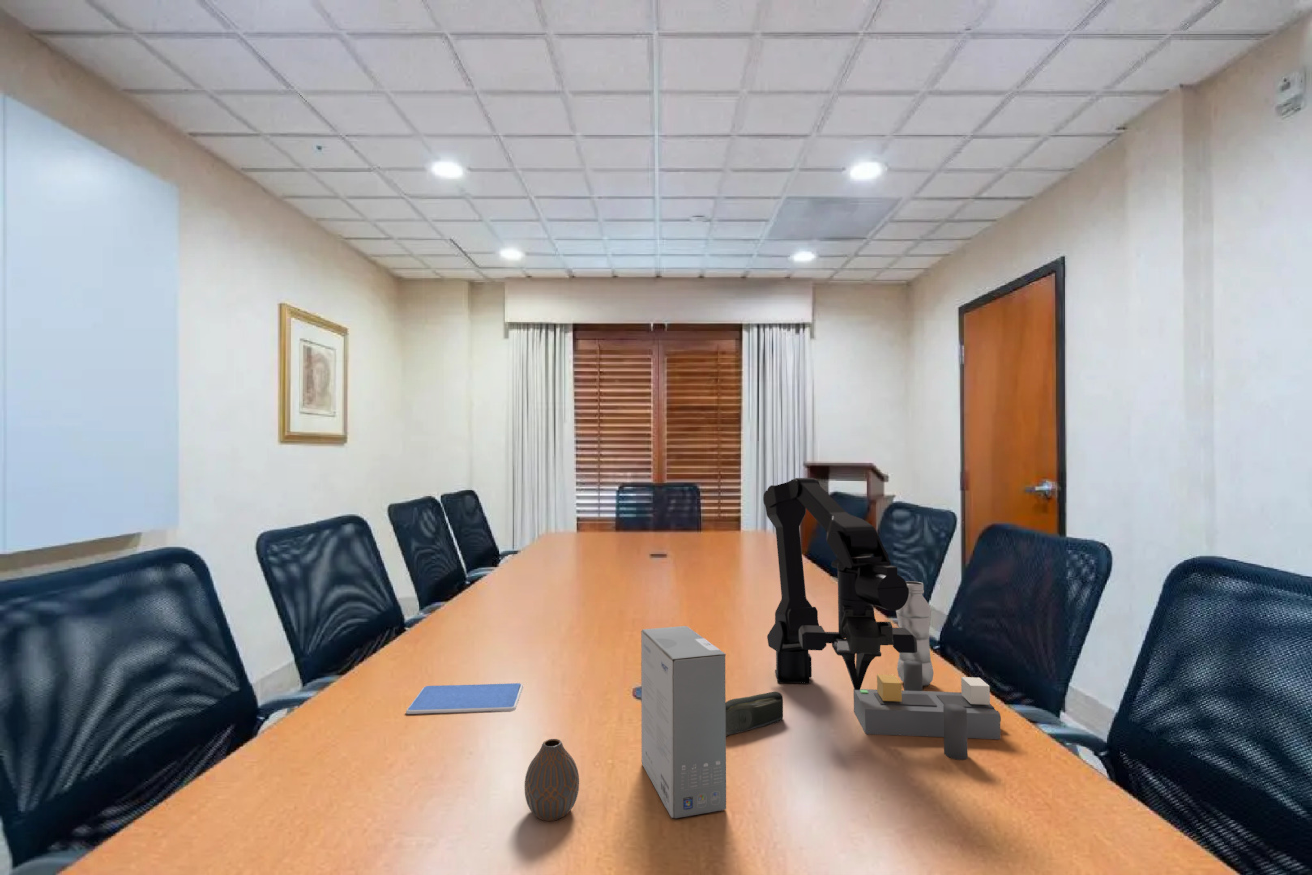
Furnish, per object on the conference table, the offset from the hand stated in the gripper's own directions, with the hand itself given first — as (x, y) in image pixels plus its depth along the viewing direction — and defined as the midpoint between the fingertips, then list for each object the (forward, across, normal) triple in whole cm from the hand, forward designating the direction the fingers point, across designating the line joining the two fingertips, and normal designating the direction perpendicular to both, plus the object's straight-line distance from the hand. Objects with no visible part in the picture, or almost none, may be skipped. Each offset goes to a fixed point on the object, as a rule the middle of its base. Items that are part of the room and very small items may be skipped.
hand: (856, 689), depth 106 cm
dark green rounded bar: (+6, -19, -4) cm, 20 cm away
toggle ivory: (+1, +19, 0) cm, 19 cm away
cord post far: (+6, +12, +10) cm, 17 cm away
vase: (+6, -44, -32) cm, 55 cm away
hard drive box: (+6, -29, -24) cm, 38 cm away
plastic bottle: (+6, +15, +20) cm, 26 cm away
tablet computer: (+6, -71, +3) cm, 71 cm away
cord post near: (+6, +12, -10) cm, 17 cm away
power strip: (+6, +11, 0) cm, 12 cm away
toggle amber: (+1, +5, 0) cm, 5 cm away
